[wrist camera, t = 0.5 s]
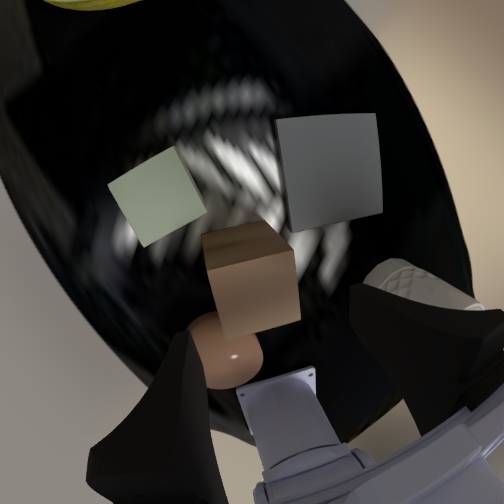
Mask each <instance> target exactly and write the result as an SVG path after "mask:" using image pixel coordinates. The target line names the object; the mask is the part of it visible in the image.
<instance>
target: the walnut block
mask: <svg viewBox="0 0 504 504" xmlns="http://www.w3.org/2000/svg"><path fill="white" fill-rule="evenodd" d="M201 238H202V245H203V251H204V257H205V263H206V269H207V273H208V277H209V281H210V285H211V289H212V292H213V296H214V300H215V303H216V307H217V310H218V314H219V318H220V321H221V325H222V328H223V332H224V335H225V338H226V340H228V339H233V338H236V337H240V336H244V335H248V334H252V333H256V332H259V331H263V330H267V329H270V328H274V327H277V326H281V325H284V324H288V323H291V322H294V321H298V320H301V315H300V305H299V294H298V285H297V275H296V266H295V257H294V249H293V248H292V247H291V246H290V245H289V244H288V243H287V242H286V241H285V240H284V239H283V238H282V237H281V236H280V235H279V234H278V233H277V232H276V231H275V230H274V229H273V228H272V227H271V226H270V225H269V224H268V223H267V222H266V221H265V220H261V221H257V222H252V223H248V224H243V225H239V226H235V227H230V228H226V229H222V230H218V231H213V232H209V233H205V234H201Z"/></svg>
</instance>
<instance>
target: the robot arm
mask: <svg viewBox="0 0 504 504" xmlns="http://www.w3.org/2000/svg"><path fill="white" fill-rule="evenodd" d="M349 323H350V324H351V326H352V328H353V330H354V331H355V333H356V334H357V336H358V338H359V339H360V340H361V341H362V343H363V344H364V345H365V346H366V348H367V349H368V350H369V351H370V352H371V354H372V355H373V356H374V357H375V358H376V359H377V361H378V362H379V363H380V364H381V365H382V367H383V368H384V369H385V370H386V372H387V373H388V374H389V376H390V377H391V379H392V381H393V382H394V384H395V385H396V387H397V389H398V390H399V392H400V394H401V396H402V397H403V399H404V401H405V403H406V405H407V407H408V409H409V410H410V413H411V415H412V417H413V419H414V421H415V423H416V425H417V428H418V430H419V433H420V435H421V438H419V439H418V440H416V441H414V442H413V443H411V444H409V445H408V446H406V447H404V448H402V449H401V450H399V451H397V452H395V453H393V454H392V455H390V456H388V457H386V458H384V459H382V460H380V461H378V462H376V463H375V462H374V460H373V459H372V457H371V456H370V455H369V454H368V453H367V452H365V451H362V450H360V449H357V448H355V449H353V450H351V451H350V449H349V447H348V446H347V444H346V443H343V444H341V443H340V441H339V439H338V437H337V436H336V434H335V432H334V430H333V428H332V426H331V424H330V422H329V420H328V419H327V417H326V415H325V413H324V411H323V409H322V407H321V405H320V403H319V401H318V400H317V398H316V382H315V368H314V367H313V366H308V367H305V368H302V369H299V370H296V371H293V372H289V373H286V374H283V375H280V376H276V377H273V378H269V379H266V380H262V381H259V382H255V383H251V384H247V385H243V386H240V387H238V388H236V394H237V397H238V399H239V402H240V405H241V408H242V411H243V413H244V416H245V419H246V422H247V424H248V427H249V430H250V432H251V434H252V435H254V438H255V442H256V445H257V449H258V452H259V455H260V458H261V462H262V465H263V468H264V471H263V472H262V475H263V478H264V481H265V482H259V483H257V485H256V488H255V489H254V491H253V496H254V502H255V504H504V483H503V482H502V480H501V479H500V478H499V477H498V475H497V474H496V473H495V471H494V470H493V469H492V467H490V465H489V464H488V462H487V461H486V460H485V458H486V457H487V456H488V455H489V454H490V453H491V452H492V451H493V450H494V449H495V448H496V447H497V446H498V445H499V444H500V443H501V442H502V441H503V440H504V350H503V348H504V311H502V310H501V309H493V310H458V309H450V308H443V307H437V306H433V305H428V304H424V303H420V302H417V301H413V300H410V299H407V298H404V297H401V296H398V295H395V294H392V293H390V292H387V291H384V290H382V289H379V288H376V287H373V286H371V285H368V284H364V283H358V284H355V285H352V286H350V307H349ZM242 393H243V394H242ZM86 482H87V484H88V485H89V486H90V487H91V488H92V489H93V490H94V491H96V492H97V493H99V494H100V495H102V496H103V497H105V498H106V499H108V500H110V501H111V502H113V504H229V503H228V500H227V496H226V494H225V490H224V486H223V483H222V479H221V476H220V472H219V468H218V464H217V460H216V456H215V452H214V447H213V443H212V438H211V432H210V423H209V411H208V397H207V384H206V378H205V373H204V368H203V363H202V361H201V358H200V356H199V353H198V351H197V348H196V345H195V343H194V340H193V337H192V334H191V332H190V330H187V331H183V332H178V333H176V334H175V335H174V338H173V340H172V342H171V345H170V347H169V350H168V352H167V354H166V356H165V358H164V360H163V362H162V365H161V367H160V369H159V371H158V372H157V374H156V376H155V378H154V380H153V381H152V383H151V385H150V386H149V388H148V390H147V391H146V393H145V394H144V396H143V397H142V398H141V400H140V401H139V403H138V404H137V405H136V406H135V407H134V409H133V410H132V411H131V412H130V413H129V415H128V416H127V417H126V418H125V419H124V420H123V421H122V422H121V423H120V424H119V425H118V426H117V427H116V428H115V429H114V430H113V431H112V432H111V433H109V435H107V436H106V437H105V438H103V439H102V440H101V441H100V442H98V443H97V444H96V445H94V446H93V447H92V448H91V449H90V452H89V457H88V464H87V473H86Z"/></svg>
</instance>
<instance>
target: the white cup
mask: <svg viewBox="0 0 504 504" xmlns="http://www.w3.org/2000/svg"><path fill="white" fill-rule="evenodd" d="M363 283H364V284H368V285H371V286H373V287H376V288H379V289H382V290H384V291H387V292H390V293H392V294H395V295H398V296H401V297H404V298H407V299H410V300H413V301H417V302H420V303H424V304H428V305H433V306H437V307H443V308H450V309H458V310H485V307H484V305H483V304H481V303H480V302H478V301H477V300H475V299H473V298H472V297H470V296H468V295H467V294H465V293H464V292H462V291H460V290H459V289H457V288H455V287H454V286H452V285H450V284H449V283H447V282H445V281H443V280H442V279H440V278H438V277H436V276H434V275H432V274H430V273H429V272H427V271H425V270H422V269H419V268H417V267H415V266H414V265H412V264H410V263H409V262H407V261H405V260H403V259H394V258H390V259H388V260H386V261H384V262H382V263H380V264H378V265H377V266H376V267H375V268H374V269H373V270H372V271H371V272H370V273H369V274H368V275H367V276H366V278H365V280H364V282H363Z"/></svg>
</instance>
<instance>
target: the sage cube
mask: <svg viewBox="0 0 504 504" xmlns="http://www.w3.org/2000/svg"><path fill="white" fill-rule="evenodd" d="M108 187H109V189H110V191H111V193H112V194H113V196H114V198H115V200H116V201H117V203H118V205H119V207H120V209H121V210H122V212H123V214H124V215H125V217H126V219H127V221H128V222H129V224H130V226H131V227H132V229H133V231H134V232H135V234H136V236H137V237H138V239H139V241H140V242H141V244H142V245H143V247H146V246H148V245H149V244H151V243H153V242H155V241H156V240H158V239H160V238H162V237H164V236H165V235H167V234H169V233H171V232H173V231H174V230H176V229H178V228H180V227H182V226H184V225H186V224H187V223H189V222H191V221H193V220H195V219H197V218H199V217H200V216H202V215H204V214H206V213H208V212H207V209H206V206H205V202H204V199H203V197H202V195H201V193H200V191H199V190H198V188H197V186H196V184H195V182H194V180H193V178H192V176H191V174H190V172H189V170H188V168H187V166H186V164H185V162H184V160H183V159H182V157H181V155H180V153H179V151H178V149H177V147H176V146H172V147H170V148H169V149H167V150H165V151H163V152H161V153H159V154H158V155H156V156H154V157H152V158H151V159H149V160H147V161H145V162H144V163H142V164H140V165H139V166H137V167H135V168H134V169H132V170H130V171H129V172H127V173H125V174H124V175H122V176H120V177H119V178H117V179H116V180H114V181H113V182H111V183H110V184H108Z"/></svg>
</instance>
